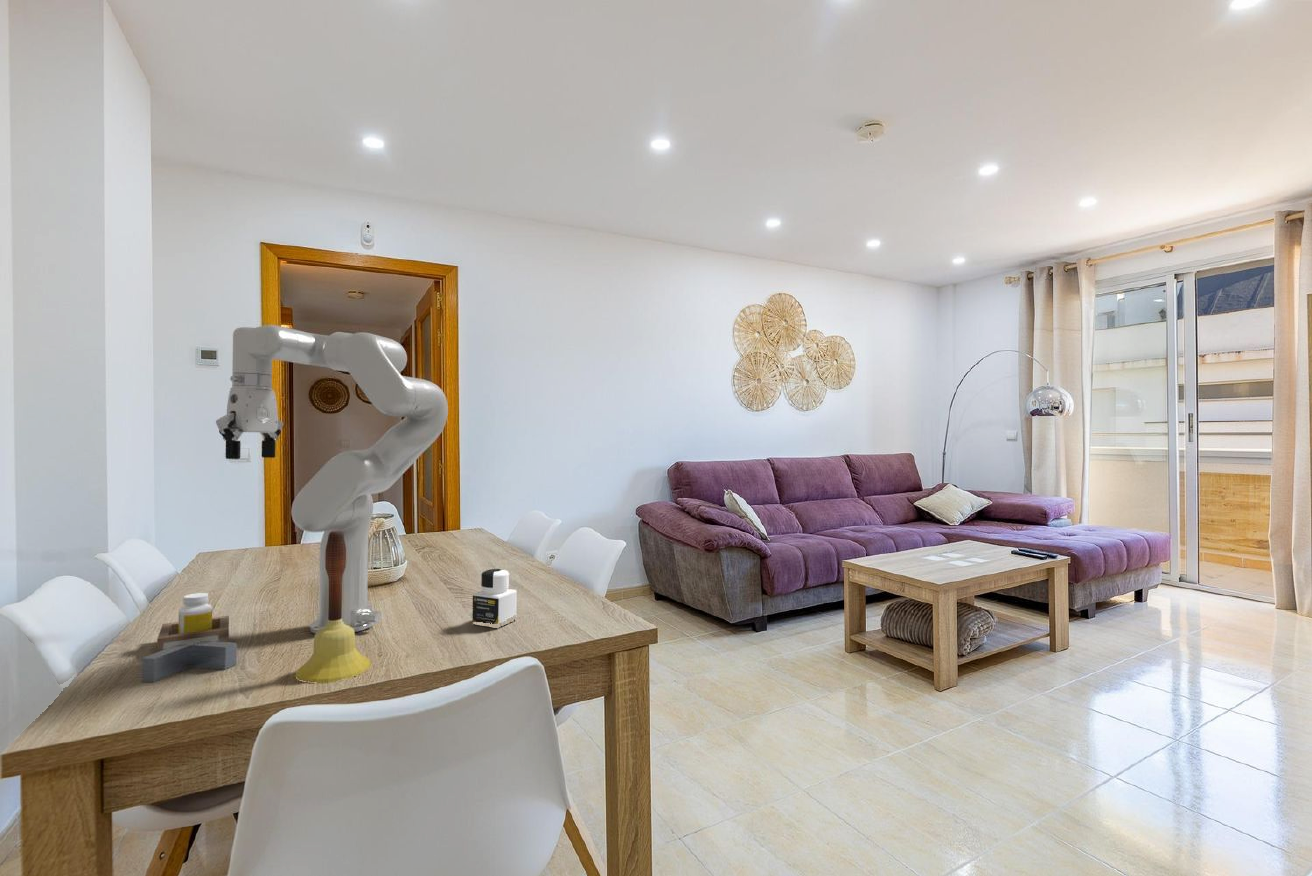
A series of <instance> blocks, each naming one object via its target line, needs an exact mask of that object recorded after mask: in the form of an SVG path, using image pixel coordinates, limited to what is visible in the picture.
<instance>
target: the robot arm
mask: <svg viewBox="0 0 1312 876" xmlns="http://www.w3.org/2000/svg"><path fill="white" fill-rule="evenodd" d="M273 360H276V361H281V362H289V363H293V364H294V363H295V364H300V365H309V366H315V367H324V368H329V369H332V370H333V371H338V372H339V371H340V372H346V373H349V374H350V376H351V377H352V379H353V380H354V381H355V383H356V384H357V385H358V386H359V388H360V390H361V391H362V392H363V393H364V395H365V396H366V397H367V399H368V400H369V402H370V403H371V404H372V405H373V406H374V408H376V410H378V411H379V412H380V413H382V414H384V415H387V416H391V417H402V418H403V419H402V420H400V421H399V422H398V423H397V424H394V425H393V426H392V427H390V428H388V430H387V431H386V432H385V433H384V434H383V435H382V436H381V438H379V439H378V440H377V441H376V443H374V444H373V445H372V446H370V447H369V448H365V449H357V450H356V449H355V450H346V451H343V452H339V453H338V454H336V455H335V456H333V457H332V458H330V459H329V460H328V461H327V462H326V463H324V464H323V466H322V467H321V468H320V469H319V470H318V472H316V473H315V474H314V476H313V477H311V479H309V481H308V482H307V483H306V484H305V485H304V486H303V487H302V488H301V489H300V490H299V492H298V493H297V495H296V496H295V498H294V500H293V502H292V505H291V511H290V512H291V518H292V522H293V523H294V524H295V526H296V527H298V528H299V529H301V530H302V531H304V532H307V533H322V532H323V534H322V538H321V541H320V546H319V564H318V565H319V566H318V568H319V569H318V619H316V620H314V621H313V622H311V624H310V626H309V629H310V632H311V633H312V634H314V635H315V634H316V633H317V632H318V631H319V630H320V629H321V628H323V627H325V626H326V624H327V622H328V606H329V578H328V574H327V571H326V568H325V551H326V545H327V541H328V536H329V533H330V532H331V531H342V532H343V535H344V540H345V545H346V568H345V570H344V573H343V577H342V621H343V623H344V624H345V625H348V626H350V627H351V628H353V630H354V632H355V633H357V632H360V631H364V630H367V629H369V628H371V627H372V626H374V624H377V623H379V622H380V620H381V617H382V615H383V613H382V611H381V610H380V611H379V610H372V606H373V605H372V603H368V579H369V577H368V573H369V571H368V568H369V567H368V566H369V565H368V564H369V560H368V559H369V557H368V556H369V537H370V536H369V535H370V528H371V527H370V526H371V523H372V518H373V517H372V516H373V513H374V512H373V511H374V500H373V497H372V495H374V494H380V493H382V492H383V493H384V492H385V491H387V490H389V489H390V488H391V487H392V486H393V485H394V484H395V483H396V482H397V481H398V480H399V479H400V478H401V476H403V475H404V474H405V472H406V471H408V469H409V468H410V467H411V466H412V465H413V464H415V462H416V461H417V459H419V457H420V456H421V455H422V454H423V453H424V452H425V451H427V449H429V447H431V445H432V444H433V443H435V441H436V440H437V439H438V438H439V436H440V435H441V434H442V432H443V430H444V428H445V426H446V423H447V419H448V414H449V406H448V405H449V404H448V400H447V397H446V395H445V393H444V391H443V389H442V388H440V387H439V386H438V385H437V384H435V383H434V382H432V381H429V380H427V379H422V378H418V377H412V376H405V375H401V372H402V371H404V369H405V368H406V366H407V362H408V355H407V352H406V350H405V348H404V347H403V345H402V344H401V343H399V342H398V341H396V340H394V339H392V338H388V337H385V336H381V335H378V334H374V333H369V332H365V331H363V332H355V333H350V332H343V331H335V332H333V333H331V334H330V335H327V334H318V333H312V332H306V331H302V330H298V329H294V328H290V327H285V326H280V325H276V324H265V325H260V326H257V327H256V326H255V327H249V326H248V327H247V326H242V327H237V328H236V329H234V330H233V333H232V368H231V369H232V375H231V376H230V377H229V381H231V387H230V388H229V389H230V390H229V394H228V399H227V404H226V406H227V407H226V414H225V415H224V416H222V417H220V418H217V419H216V420H215V424H216V426H217V429H218V433H219V434H220V435H221V436H222V439H223V441H225V459H226V460H239V459H241V446H242V445H241V444H242V443H241V440H239V439H240V437H241V436H242V435H243V434H244V433H259V434H260V435H261V437H262V438H263V440H261V458H267V459H268V458H269V459H270V458H273V459H275V458H276V447H277V446H276V445H277V444H276V441H278V439H279V436H280V435H281V434H282V429H283V426H284V422H283V421H282V420H280V419H279V415H278V403H277V397H276V393H275V390H273V388H272V387H273Z"/></svg>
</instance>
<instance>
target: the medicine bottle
mask: <svg viewBox="0 0 1312 876" xmlns="http://www.w3.org/2000/svg"><path fill="white" fill-rule="evenodd" d="M480 577H481V582H480V583H481V584H480V585H481V590H480V591H477V592H475V593H472V614H471V615H472V618H471V621H472V622H483V623H490V624H491V623H492V624H499V623H501V622H504V621H506V620H507V619H509V618H511V617H513V616H514V615H516V616H517V601H518V600H517V599H518V597H517V596H518V595H517V593H518V592H517V590H516V589H511V588H510V589H509V587H510V583H509V581H510V573H509V571H508V570H506V569H502V568H491V569H486V570H484V571H483V572H482V573H481V576H480Z"/></svg>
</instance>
